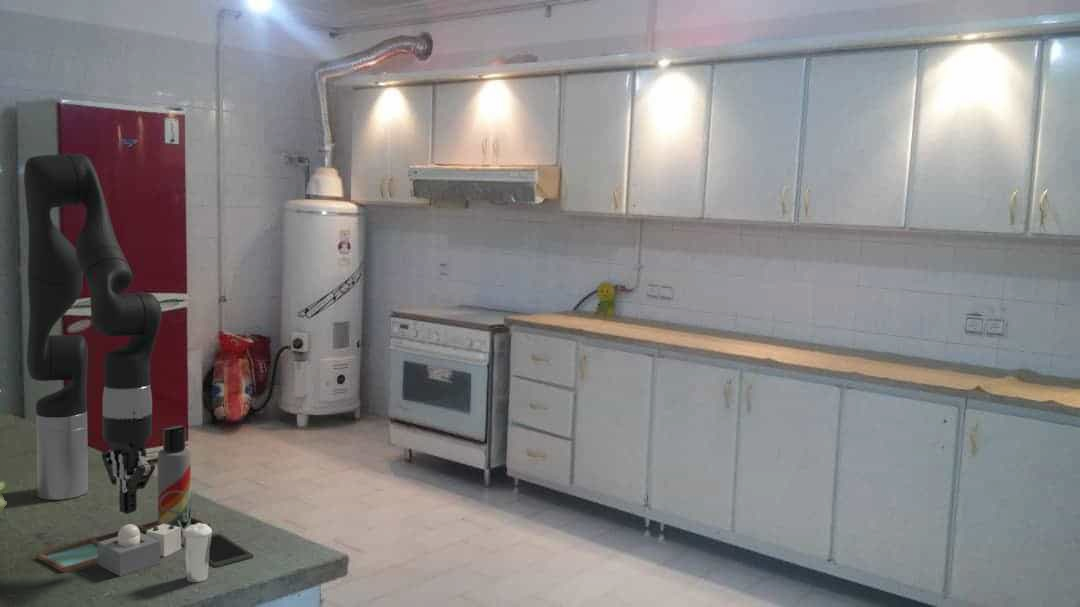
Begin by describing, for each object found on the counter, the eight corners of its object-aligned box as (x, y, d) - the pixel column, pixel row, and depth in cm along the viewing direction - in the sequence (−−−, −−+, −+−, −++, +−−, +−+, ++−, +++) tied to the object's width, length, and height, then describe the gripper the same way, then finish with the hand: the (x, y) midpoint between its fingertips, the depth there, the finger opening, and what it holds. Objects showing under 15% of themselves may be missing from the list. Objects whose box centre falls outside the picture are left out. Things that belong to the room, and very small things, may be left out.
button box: (98, 564, 150) (97, 542, 149) (137, 552, 155) (137, 530, 155) (120, 576, 146) (120, 553, 145) (159, 563, 151) (159, 541, 151)
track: (37, 558, 151) (37, 553, 151) (183, 516, 174) (183, 512, 173) (63, 572, 146) (63, 568, 146) (210, 528, 168) (210, 524, 168)
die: (146, 552, 156) (146, 527, 155) (163, 544, 159) (163, 520, 159) (164, 556, 154) (164, 531, 154) (180, 548, 158) (181, 524, 157)
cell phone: (215, 570, 151) (215, 566, 151) (180, 545, 160) (180, 541, 160) (255, 559, 156) (255, 555, 156) (219, 536, 166) (219, 532, 165)
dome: (114, 551, 150) (113, 525, 149) (133, 545, 153) (133, 519, 152) (124, 556, 148) (124, 529, 147) (144, 551, 151) (143, 524, 150)
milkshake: (182, 572, 148) (182, 515, 147) (215, 572, 149) (215, 515, 148) (173, 584, 144) (173, 525, 143) (207, 584, 144) (207, 525, 143)
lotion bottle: (178, 536, 164) (178, 431, 162) (151, 532, 165) (151, 428, 163) (196, 525, 169) (196, 423, 167) (169, 522, 170) (169, 421, 168)
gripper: (84, 408, 148) (85, 508, 150) (127, 422, 141) (127, 527, 142) (127, 401, 154) (128, 497, 156) (170, 414, 147) (170, 515, 149)
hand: (128, 511), depth 149 cm, fingers closed
